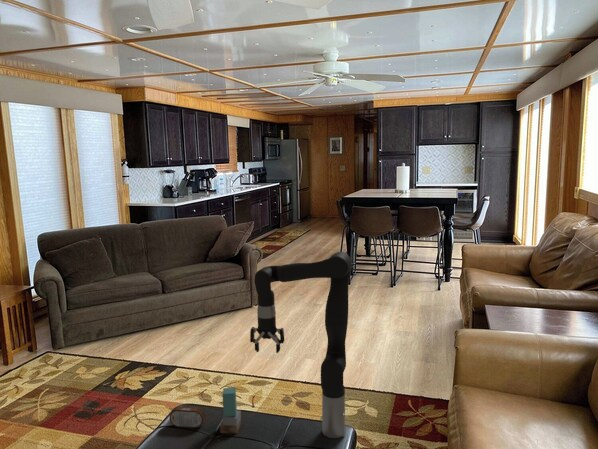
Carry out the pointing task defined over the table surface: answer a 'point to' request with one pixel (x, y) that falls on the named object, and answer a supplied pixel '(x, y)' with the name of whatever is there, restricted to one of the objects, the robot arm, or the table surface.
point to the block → (229, 402)
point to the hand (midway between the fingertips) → (267, 351)
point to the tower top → (232, 419)
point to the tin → (187, 417)
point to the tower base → (229, 428)
